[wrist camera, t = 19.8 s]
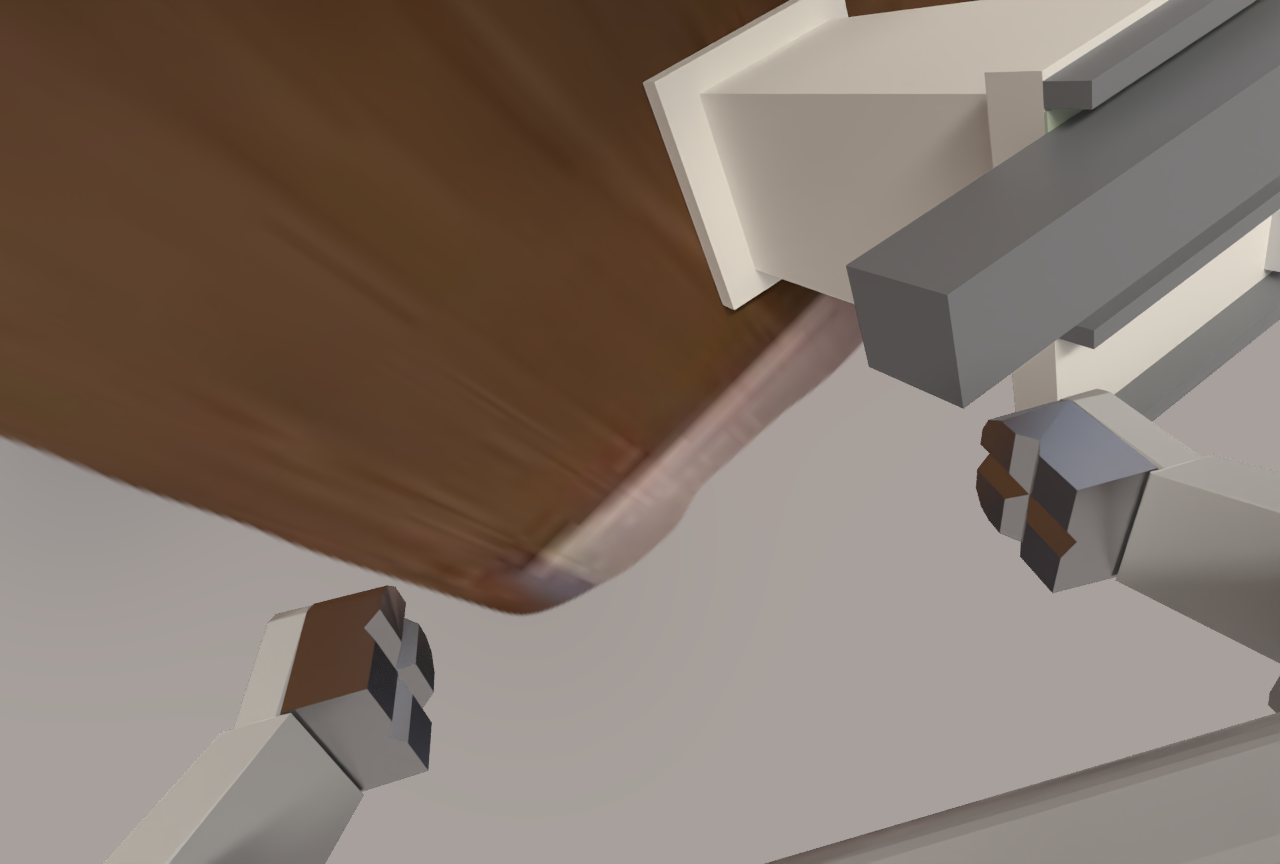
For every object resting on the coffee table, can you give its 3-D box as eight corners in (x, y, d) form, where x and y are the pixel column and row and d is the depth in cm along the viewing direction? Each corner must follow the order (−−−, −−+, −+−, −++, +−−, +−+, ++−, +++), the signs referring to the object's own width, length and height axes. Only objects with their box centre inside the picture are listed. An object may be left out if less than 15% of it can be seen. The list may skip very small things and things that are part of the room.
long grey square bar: (845, 265, 20) (947, 294, 17) (1299, -33, 24) (1445, -50, 21) (869, 366, 22) (963, 408, 19) (1283, 77, 26) (1415, 75, 23)
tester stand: (642, 82, 41) (1156, 67, 18) (824, -20, 44) (1483, -151, 20) (722, 304, 50) (1138, 492, 27) (870, 209, 53) (1368, 302, 29)
